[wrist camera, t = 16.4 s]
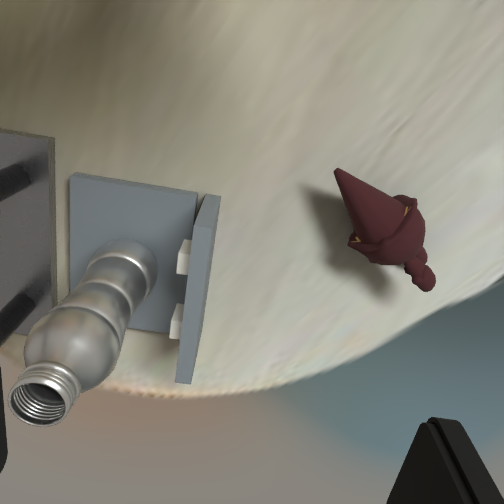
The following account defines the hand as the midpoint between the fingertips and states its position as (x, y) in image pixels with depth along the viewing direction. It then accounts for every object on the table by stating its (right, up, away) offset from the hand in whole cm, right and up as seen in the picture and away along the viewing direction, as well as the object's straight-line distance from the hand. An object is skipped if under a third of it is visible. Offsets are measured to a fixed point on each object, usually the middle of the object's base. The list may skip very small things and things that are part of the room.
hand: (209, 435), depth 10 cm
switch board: (-10, +4, +36) cm, 38 cm away
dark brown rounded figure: (+13, +8, +34) cm, 37 cm away
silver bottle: (-11, +3, +35) cm, 37 cm away
